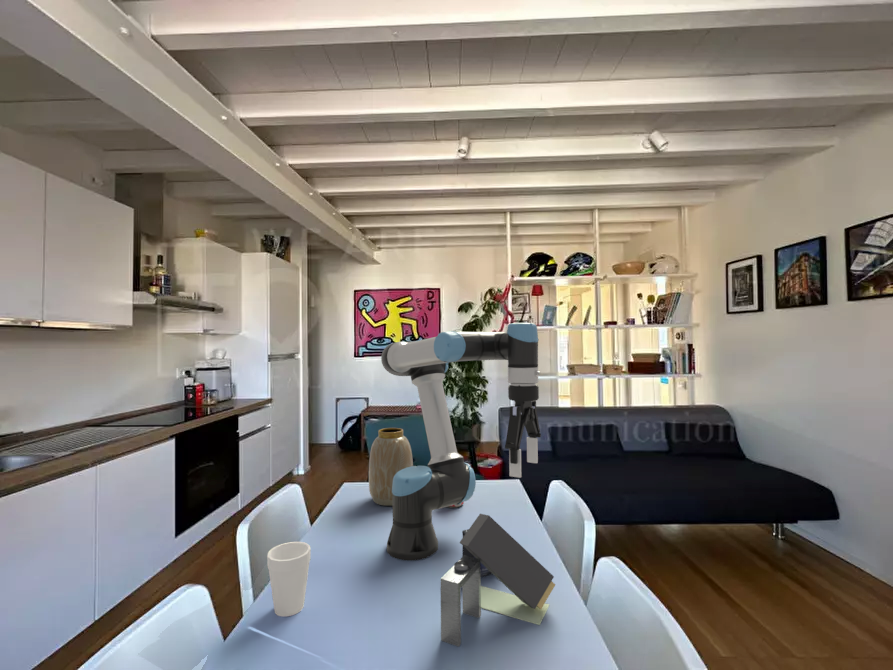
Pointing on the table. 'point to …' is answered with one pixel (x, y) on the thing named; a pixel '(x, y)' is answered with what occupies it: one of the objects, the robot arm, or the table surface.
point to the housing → (459, 597)
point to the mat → (510, 606)
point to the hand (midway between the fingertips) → (524, 469)
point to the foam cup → (289, 576)
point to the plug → (508, 561)
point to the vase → (387, 463)
